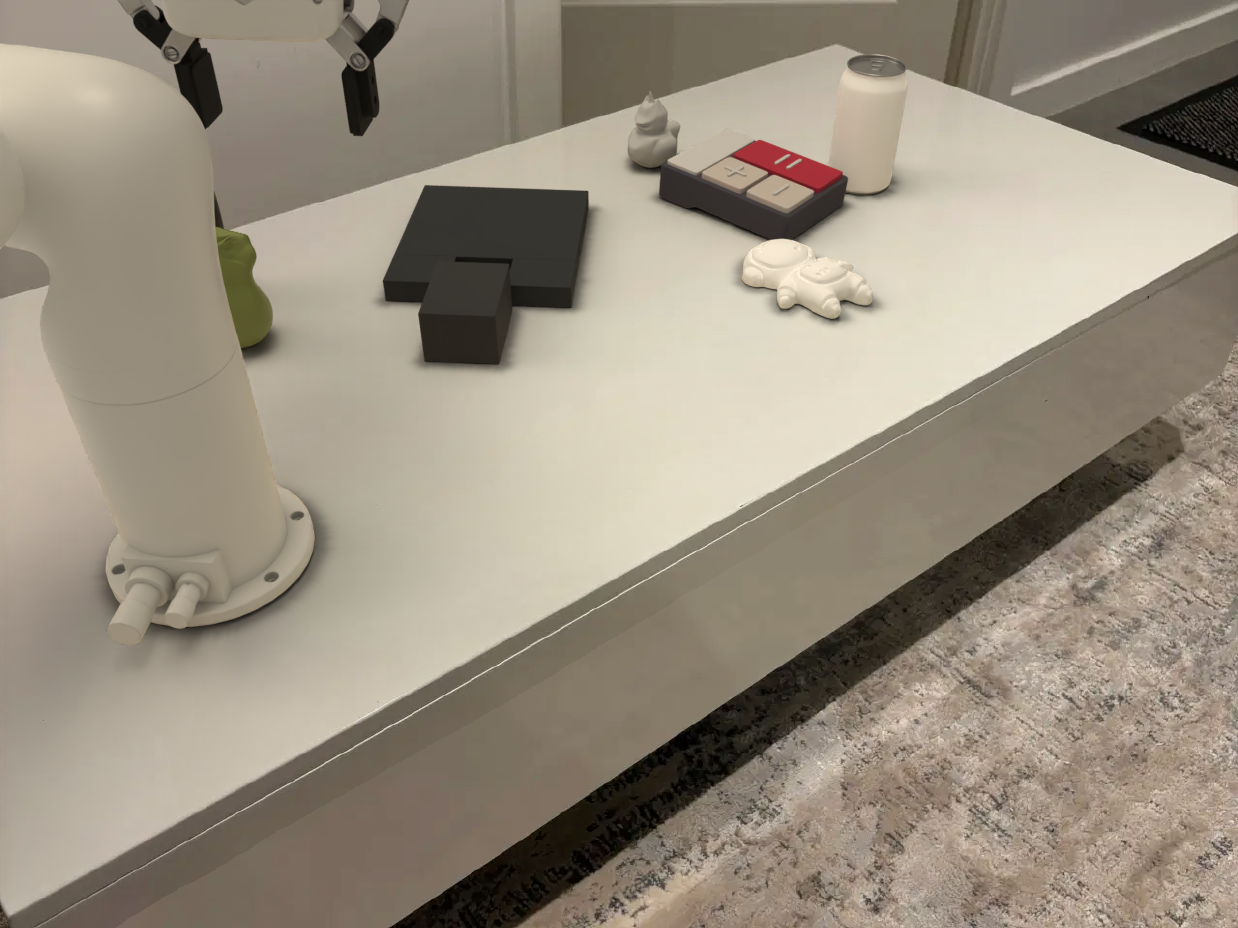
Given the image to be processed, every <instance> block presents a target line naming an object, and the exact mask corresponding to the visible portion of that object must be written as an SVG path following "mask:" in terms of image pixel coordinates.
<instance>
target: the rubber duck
mask: <svg viewBox="0 0 1238 928" xmlns="http://www.w3.org/2000/svg"><path fill="white" fill-rule="evenodd" d="M668 116H669V112H668V109H667V108H666V106H665V105H664V104H663V103H662V102H661V100H660V99H656V100H655V98H654V97H653V93H652V91H651V90H649V92H648V94H646V96H645V98H644V100H643V101H642V103H641V104H640V105H639V107H638V108H637V112H636V114H635V117H634V121H635V126H636V127H635V126H634V128H632V129H631V131H630V133H629V135H628V139H627V155H628V157H629V158H630V159H631V161H633V162H634V163H635V164H637V165H639V166H641V167H643V168H649V169H650V168H652V169H653V168H658V167H661V164H662V163H663V162H665V161H666V160H668V159H670V158H672V157H674V156H676V155H677V152H678V137H679V133H680V131H681V123H679V122H678V121H677V120H675V119H669V118H668Z"/></svg>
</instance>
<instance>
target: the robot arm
mask: <svg viewBox="0 0 1238 928" xmlns="http://www.w3.org/2000/svg"><path fill="white" fill-rule="evenodd" d="M117 2H118V3H119V5H120V6H121V7H122V9H123V10H124V11H125V13H126V14H127V15H128V16H130V17H131V19H132V23H133V26H134V28H135V29H136V30H137V31H138V32H139V33H140V34H141V35H142V36H143V37H145V38H146V39H147V40H148V41H149V42H151V43H152V44H153V45H154V46H155V47H156V48H158V49H159V50H160V54H161V56H162V58H163V59H164V60H165V62H167V63H169V64H171V65H173V68H174V72H175V77H176V81H177V84H178V89H179V91H178V90H177V89H176V88H175V87H174V86H172V85H171V84H169V83H168V82H167V81H165V80H164V79H162V78H161V77H159V76H157V75H155V74H153V73H151V72H149V71H148V70H145V69H143V68H141V67H137V66H135V65H131V64H128V63H125V62H124V61H123V62H122V61H120V60H116V59H113V58H108V57H104V56H98V55H94V54H89V53H88V54H87V53H80V52H75V51H74V52H73V51H66V50H59V49H51V48H44V47H37V46H30V45H24V44H8V43H1V42H0V250H2V249H3V248H4V247H8V248H12V249H16V250H22V251H26V252H29V253H32V254H34V255H36V256H38V257H39V258H40V260H42V261H43V262H44V265H45V266H46V268H47V271H48V274H49V284H48V288H47V292H46V295H45V298H44V301H43V305H42V307H41V312H40V320H39V328H40V329H39V331H40V338H41V342H42V346H43V350H44V353H45V356H46V359H47V361H48V364H49V366H50V367H49V368H50V370H51V371H52V374H53V377H54V379H55V381H56V384H57V385H58V388H59V390H60V392H61V396H62V397H63V399H64V403H65V404H66V407H67V409H68V412H69V414H70V417H71V419H72V422H73V424H74V427H75V430H76V432H77V434H78V437H79V439H80V442H81V444H82V447H83V449H84V452H85V454H86V456H87V459H88V461H89V464H90V466H91V469H92V471H93V474H94V477H95V479H96V482H97V484H98V486H99V488H100V491H101V494H102V496H103V498H104V501H105V503H106V506H107V508H108V511H109V513H110V516H111V518H112V521H113V523H114V525H115V528H116V530H117V533H116V535H115V536H114V538H113V540H112V542H111V543H110V545H109V547H108V552H107V554H106V557H105V574H106V578H107V582H108V585H109V587H110V589H111V591H112V593H113V595H114V597H115V599H116V601H117V602H119V606H118V608H117V609H116V611H115V613H114V615H113V617H112V619H111V620H110V622H109V624H108V626H107V629H106V633H107V635H108V637H109V638H110V639H112V640H113V641H114V642H116V643H118V644H121V645H124V646H131V647H133V646H136V645H139V644H140V642H141V641H142V640H143V638H144V636H145V634H146V633H147V630H148V628H149V626H150V624H151V623H152V624H156V625H161V626H168V627H171V628H174V629H177V630H181V629H185V628H186V627H188V628H189V627H190V628H194V627H199V626H200V627H202V626H210V625H215V624H219V623H223V622H227V621H230V620H235V619H237V618H240V617H242V616H244V615H247V614H250V613H253V612H254V611H256V610H258V609H260V608H262V607H264V606H265V605H267V604H270V602H273V601H275V599H276V598H278V597H279V596H280V595H282V594H283V593H285V592H286V591H287V590H288V589H289V588H290V587H291V586H292V585H293V584H294V583H295V582H296V581H297V580H298V579H299V578H300V576H301V575H302V574H303V572H304V570H305V569H306V567H307V566H308V564H309V563H310V560H311V557H312V554H313V552H314V548H315V539H316V535H315V530H314V523H313V520H312V517H311V514H310V511H309V509H308V508H307V506H306V505H305V503H304V502H303V501H302V499H300V497H298V496H297V495H296V494H294V493H293V491H290V490H289V489H288V488H285V487H284V486H282V485H279V484H278V483H277V481H276V477H275V472H274V469H273V466H272V462H271V457H270V454H269V449H268V447H267V442H266V439H265V435H264V431H263V427H262V424H261V420H260V415H259V413H258V408H257V404H256V401H255V396H254V393H253V390H252V386H251V382H250V377H249V373H248V371H247V367H246V363H245V358H244V356H243V351H242V348H241V347H240V344H239V340H238V336H237V334H236V330H235V326H234V322H233V319H232V315H231V311H230V307H229V303H228V299H227V295H226V290H225V286H224V282H223V277H222V271H221V266H220V261H219V255H218V247H217V239H216V229H215V214H214V192H215V189H214V188H215V187H214V168H213V167H214V166H213V157H212V152H211V151H212V150H211V146H210V141H209V138H208V134H207V131H206V130H207V129H209V127H210V126H211V125H212V124H213V123H214V122H215V121H216V120H218V118H219V117H220V115H222V114H223V110H224V108H223V102H222V99H221V94H220V90H219V85H218V80H217V76H216V71H215V67H214V62H213V58H212V54H211V52H210V51H209V50H208V47H202V45H201V40H202V39H206V40H207V39H208V40H223V41H224V40H225V41H226V40H227V41H228V40H229V41H249V42H250V41H253V42H256V41H257V42H281V43H282V42H283V43H284V42H285V43H313V42H314V43H315V42H320V41H321V42H322V41H324V40H325V42H327V43H328V44H329V45H330V46H331V47H332V48H333V50H335V52H336V53H337V54H338V55H339V56H340V57H341V58H342V59H343V60H344V61H345V63H346V66H345V67H344V68H343V70H342V71H341V76H340V77H341V84H342V90H343V91H342V92H343V97H344V98H343V99H344V102H345V111H346V117H347V123H348V130H349V134H352V136H353V137H364V135H365V133H366V132H367V131H368V128H369V127H370V126H371V124H372V123H373V121H374V119H376V118H377V117H378V116H379V114H380V97H379V89H378V81H377V73H376V67H375V59H376V58H377V56H378V55H379V54H380V53H381V52H382V51H383V50H384V49H385V47H386V46H387V45H388V44H389V43H390V42H391V41H392V39H393V38H394V36H395V35H396V34H397V32H398V30H399V29H400V24H401V22H402V19H403V17H404V15H405V12H406V10H407V7H408V5H409V3H410V0H377V2H378V3H379V11H378V14H377V16H376V19H375V21H374V23H373V24H372V26H370V27H369V28H367V27H366V26H365V25H364V24H363V23H362V22H361V20H360V19H359V18H358V17H357V16H356V15H355V14H354V13H353V11H354V9H355V0H159V2H160V6H161V8H160V7H159V6H158V5H156V4H155V3H154V2H153V0H117Z"/></svg>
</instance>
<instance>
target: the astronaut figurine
mask: <svg viewBox="0 0 1238 928" xmlns="http://www.w3.org/2000/svg"><path fill="white" fill-rule="evenodd" d="M853 269H854V265H853V263H851V262H848V261H844V260H838V259H835V258H830V257H818V258H816V253H815V251H814V249H813V248H812V247H811V246H809V245H806V244H803V243H801V242H798V241H796V240H794V239H792V240H788V239H774V240H770V239H768V240H767V241H766V240H765V241H764V242H761V243H759V244H758V245H756V246H754V247H752V248H751V249H750V250H749V251H748V252H747V254H746V255H745V258H744V260H743V262H742V274H741V279H742V281H743V283H744V284H745V285H747V286H750V287H753V288H766V289H769V290H770V289H771V290H775V291H776V301H777V305H778V307H779V308H780V309H781V310H782V309H783V310H787V309H790V308H792V307H793V306H795V305H796V304H797V305H801V306H803V307H805V308H807V309H808V310H810V311H811V312H813V313H815V314H817V315H819V316H822V317H824V318H827V319H832V320H833V319H836V318H838V317H839V316H840V314H841V312H842V306H841V301H848V302H851V303H854V304H856V305H860V306H869V305H870V304H871V303H872V301H873V298H874V292H873V290H872V286H871V285H870V284H868V282H867V280H866V279H865V278H864V276H861V275H859V274H858V273H856V272H854V271H853Z"/></svg>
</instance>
